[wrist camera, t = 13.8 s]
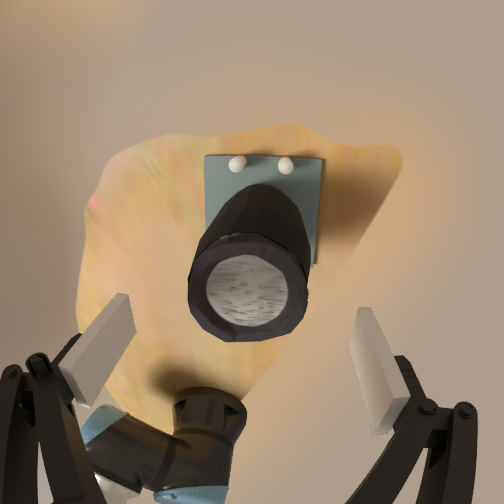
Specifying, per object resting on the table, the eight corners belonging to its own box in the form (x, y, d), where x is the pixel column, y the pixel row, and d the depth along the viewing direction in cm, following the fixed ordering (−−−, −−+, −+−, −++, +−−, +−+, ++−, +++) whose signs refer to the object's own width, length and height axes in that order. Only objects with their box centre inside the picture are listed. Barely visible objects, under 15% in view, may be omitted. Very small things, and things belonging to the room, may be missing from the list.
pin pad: (311, 265, 39) (316, 282, 34) (208, 260, 40) (200, 277, 35) (320, 158, 34) (327, 162, 29) (206, 154, 34) (195, 157, 30)
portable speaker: (312, 215, 35) (346, 304, 18) (255, 260, 38) (237, 370, 20) (266, 162, 33) (256, 199, 15) (209, 212, 36) (149, 294, 18)
